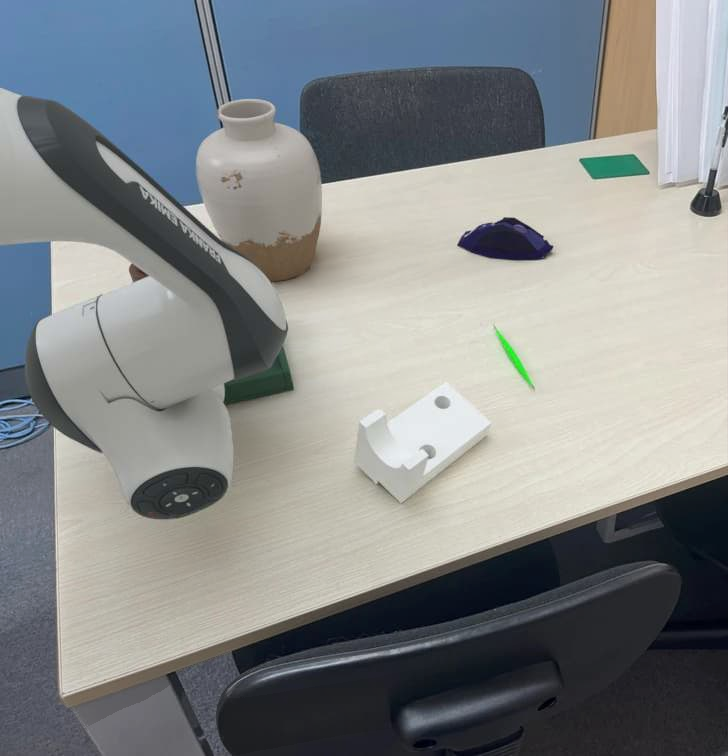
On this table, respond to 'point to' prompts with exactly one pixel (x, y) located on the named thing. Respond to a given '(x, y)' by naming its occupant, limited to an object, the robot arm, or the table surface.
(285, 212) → the vase
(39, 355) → the robot arm
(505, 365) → the table surface
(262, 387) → the grid
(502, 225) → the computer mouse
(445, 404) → the bracket
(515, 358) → the leaf
